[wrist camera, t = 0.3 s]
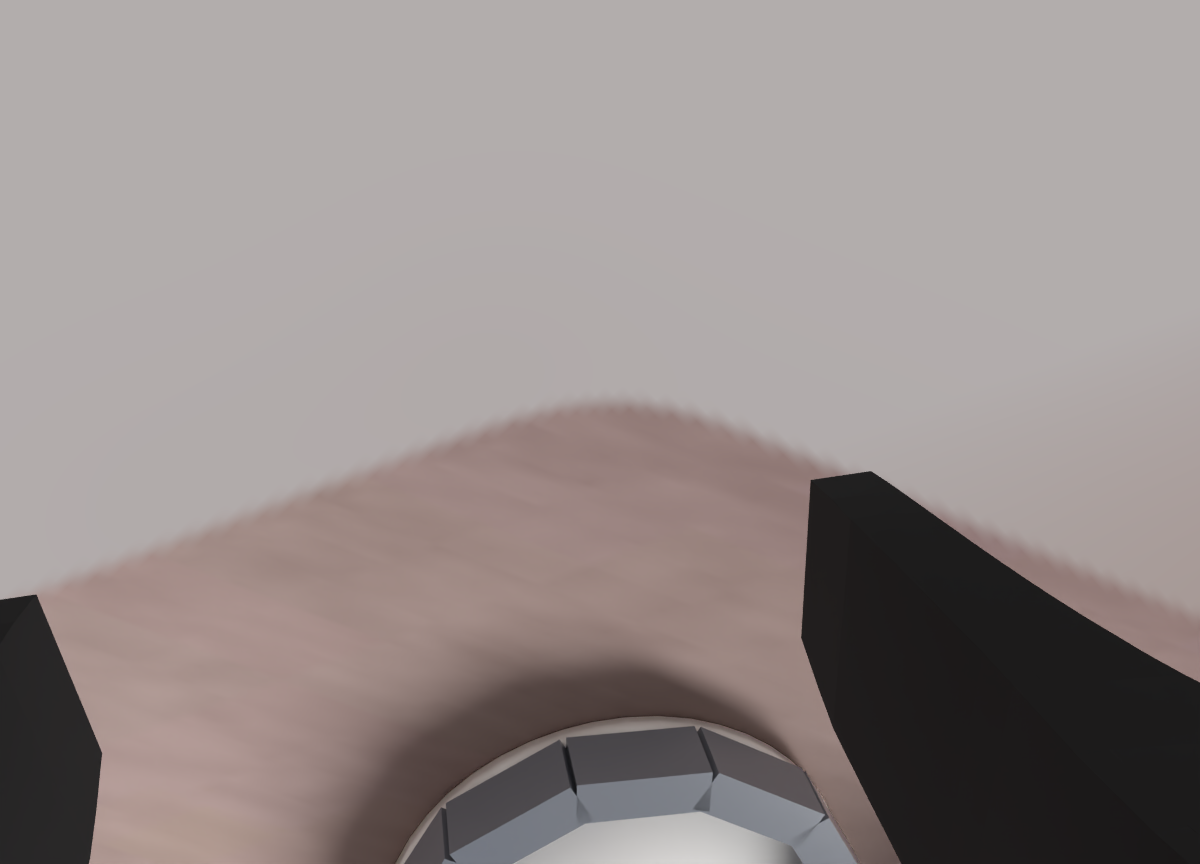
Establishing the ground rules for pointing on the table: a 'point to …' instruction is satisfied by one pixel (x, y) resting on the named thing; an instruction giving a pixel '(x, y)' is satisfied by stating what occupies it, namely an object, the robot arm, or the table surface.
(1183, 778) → the robot arm
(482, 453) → the table surface
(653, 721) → the ring dish
